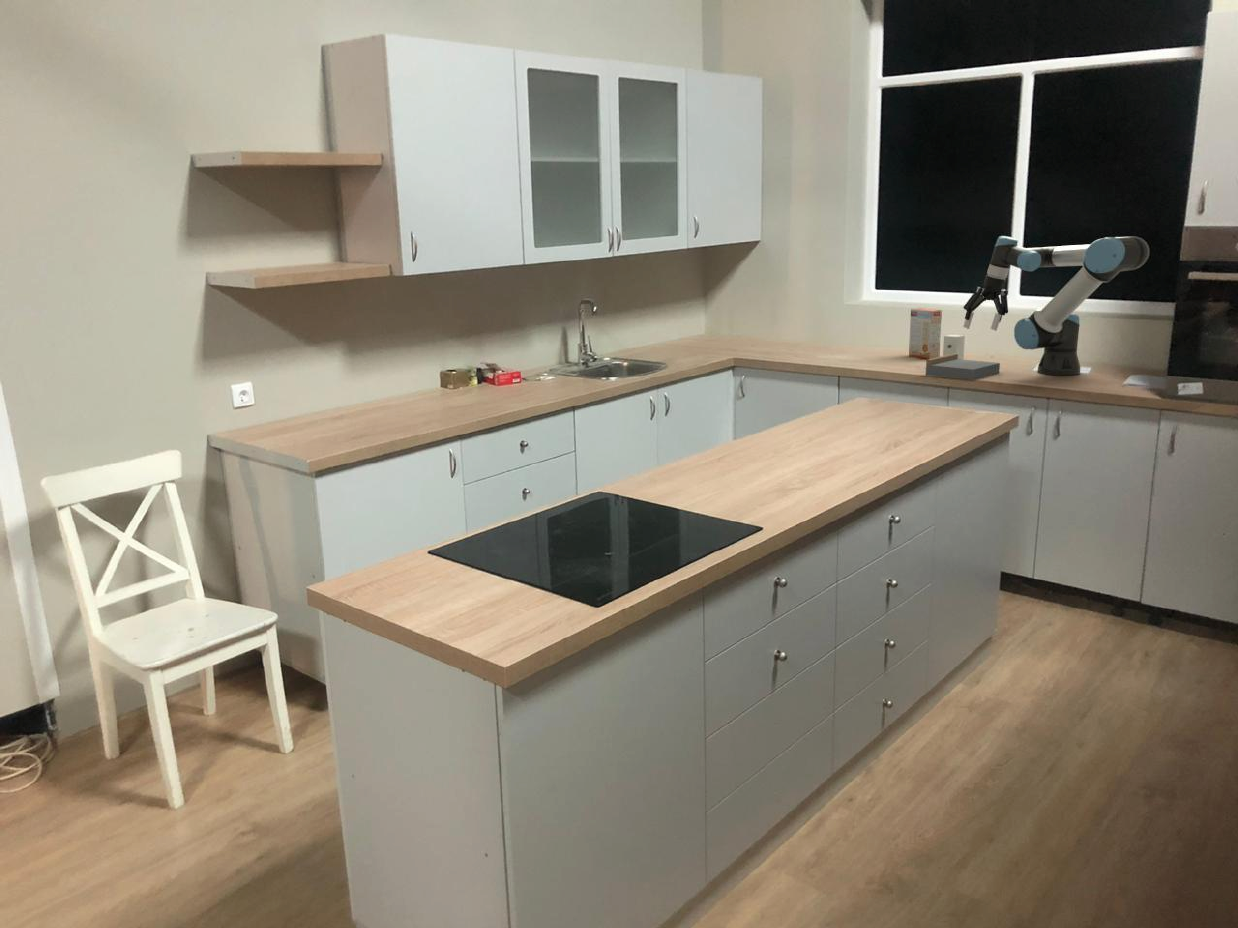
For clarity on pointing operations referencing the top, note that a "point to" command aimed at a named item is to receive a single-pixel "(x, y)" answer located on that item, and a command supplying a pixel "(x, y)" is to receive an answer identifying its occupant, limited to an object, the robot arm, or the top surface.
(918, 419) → the top surface
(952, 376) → the riser
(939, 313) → the cracker box
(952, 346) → the cabinet block
